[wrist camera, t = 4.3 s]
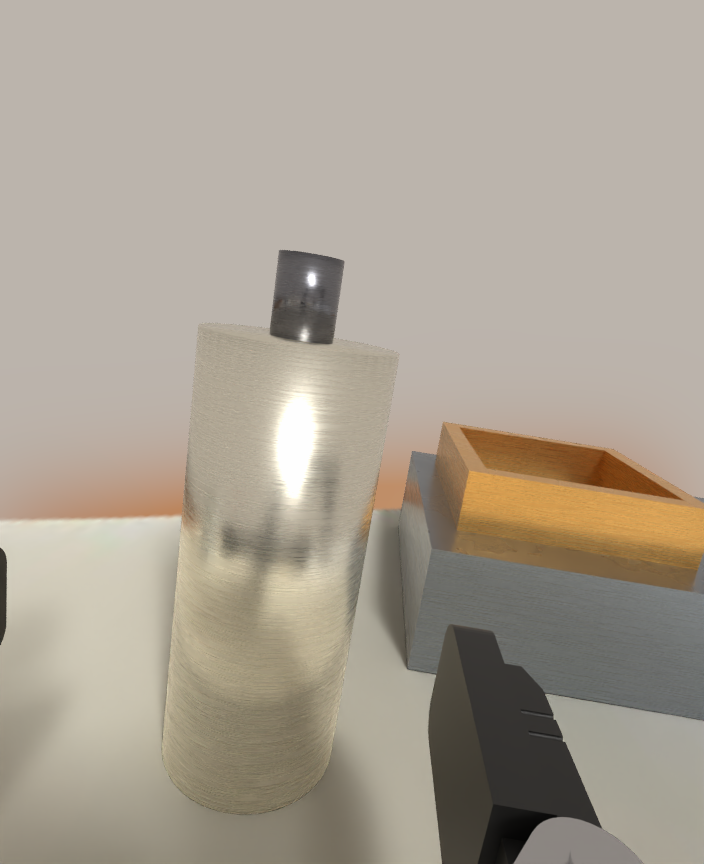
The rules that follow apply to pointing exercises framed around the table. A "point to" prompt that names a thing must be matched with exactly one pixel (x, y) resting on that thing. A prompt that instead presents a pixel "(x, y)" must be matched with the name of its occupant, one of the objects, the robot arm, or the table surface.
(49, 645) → the table surface
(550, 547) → the grey base with tray
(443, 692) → the robot arm
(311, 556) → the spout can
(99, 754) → the table surface
